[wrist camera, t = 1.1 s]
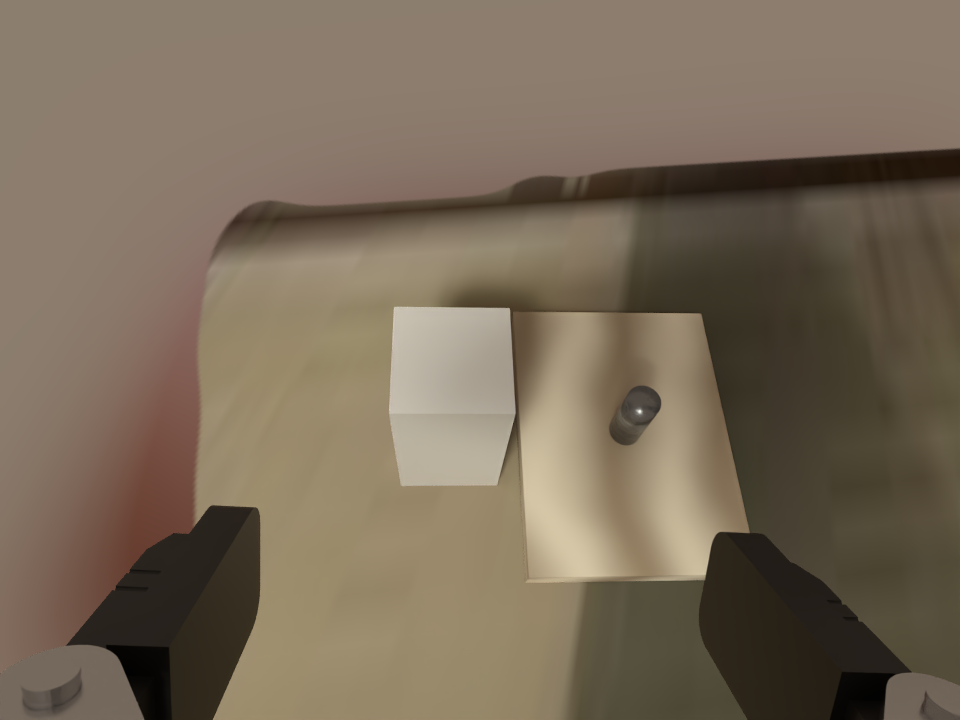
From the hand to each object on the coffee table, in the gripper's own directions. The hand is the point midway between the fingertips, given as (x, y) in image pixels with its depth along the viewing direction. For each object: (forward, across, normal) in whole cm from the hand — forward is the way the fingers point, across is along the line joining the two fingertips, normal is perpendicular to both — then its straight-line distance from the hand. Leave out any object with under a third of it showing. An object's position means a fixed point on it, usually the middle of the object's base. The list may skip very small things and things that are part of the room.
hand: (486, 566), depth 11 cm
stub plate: (+25, -10, +7) cm, 28 cm away
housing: (+25, 0, +8) cm, 26 cm away
